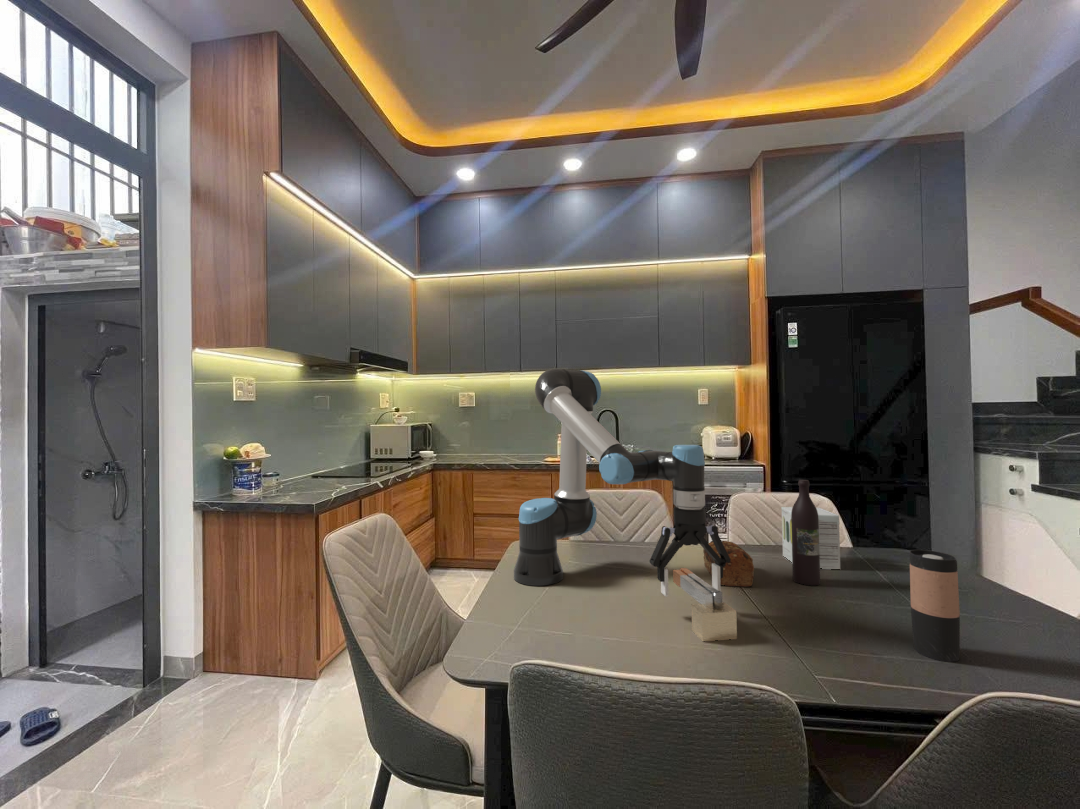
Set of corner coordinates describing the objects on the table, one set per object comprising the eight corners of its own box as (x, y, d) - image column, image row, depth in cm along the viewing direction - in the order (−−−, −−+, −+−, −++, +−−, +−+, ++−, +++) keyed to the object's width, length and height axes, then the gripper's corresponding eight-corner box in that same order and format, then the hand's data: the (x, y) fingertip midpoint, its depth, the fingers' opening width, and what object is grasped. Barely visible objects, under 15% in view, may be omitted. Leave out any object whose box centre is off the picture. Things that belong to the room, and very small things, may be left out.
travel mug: (902, 644, 97) (899, 550, 97) (935, 643, 97) (932, 548, 98) (936, 663, 89) (932, 561, 90) (972, 661, 90) (968, 559, 90)
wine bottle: (794, 584, 132) (791, 481, 133) (791, 576, 139) (788, 478, 140) (822, 587, 130) (819, 482, 131) (817, 579, 136) (815, 479, 137)
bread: (755, 588, 130) (754, 553, 130) (716, 586, 131) (715, 552, 132) (736, 567, 148) (735, 536, 149) (702, 566, 150) (701, 535, 150)
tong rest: (665, 605, 118) (665, 570, 118) (694, 603, 119) (694, 568, 119) (702, 641, 99) (701, 599, 99) (736, 639, 100) (736, 597, 100)
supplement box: (781, 556, 159) (780, 506, 160) (821, 557, 158) (820, 507, 158) (797, 568, 146) (796, 514, 147) (841, 570, 145) (840, 515, 145)
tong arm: (679, 580, 119) (679, 568, 119) (687, 580, 119) (686, 567, 119) (715, 608, 101) (715, 594, 101) (724, 608, 101) (723, 593, 101)
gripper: (647, 511, 108) (648, 601, 107) (744, 508, 111) (746, 595, 111) (636, 505, 115) (637, 590, 115) (727, 502, 119) (729, 584, 118)
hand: (690, 592), depth 113 cm, fingers open, 13 cm apart
